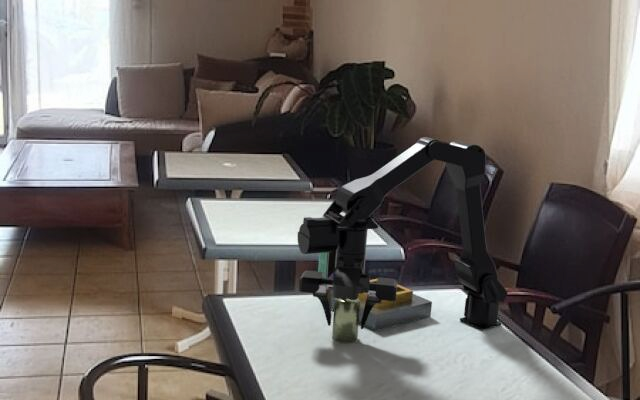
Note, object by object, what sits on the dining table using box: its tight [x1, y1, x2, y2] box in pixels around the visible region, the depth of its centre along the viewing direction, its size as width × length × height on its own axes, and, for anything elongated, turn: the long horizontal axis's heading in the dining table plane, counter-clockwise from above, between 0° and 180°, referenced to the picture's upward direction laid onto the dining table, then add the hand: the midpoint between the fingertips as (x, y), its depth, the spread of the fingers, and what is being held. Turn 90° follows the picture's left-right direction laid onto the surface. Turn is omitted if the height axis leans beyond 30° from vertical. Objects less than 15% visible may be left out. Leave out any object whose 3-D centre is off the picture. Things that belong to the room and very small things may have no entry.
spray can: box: [317, 215, 336, 291], centre depth 185 cm, size 6×6×20 cm
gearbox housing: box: [331, 278, 433, 331], centre depth 176 cm, size 18×16×6 cm
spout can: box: [331, 298, 360, 344], centre depth 159 cm, size 5×5×10 cm
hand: (345, 326), depth 160 cm, fingers open, 6 cm apart
